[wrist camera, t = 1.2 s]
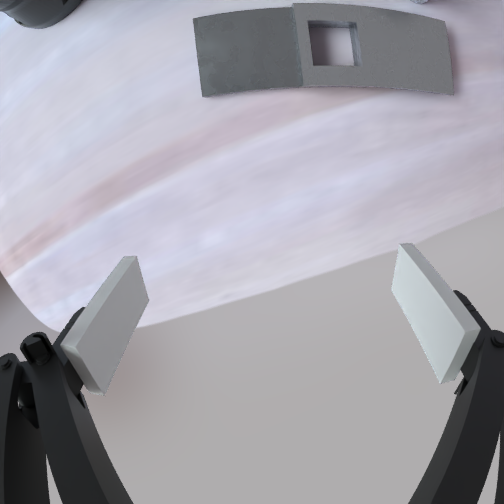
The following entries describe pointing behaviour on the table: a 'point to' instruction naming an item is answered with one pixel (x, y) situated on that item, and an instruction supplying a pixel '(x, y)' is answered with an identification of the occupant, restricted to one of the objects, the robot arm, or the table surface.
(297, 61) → the plate with square hole
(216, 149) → the table surface
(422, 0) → the pin
